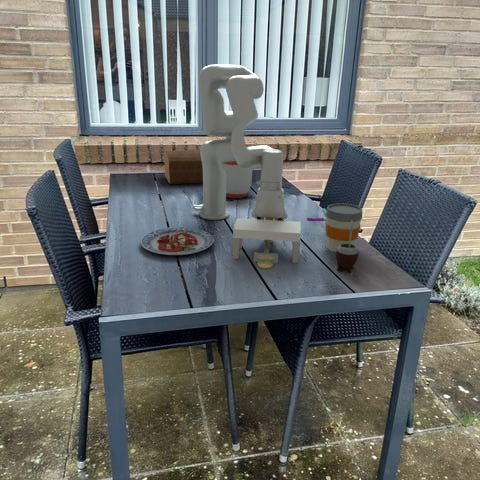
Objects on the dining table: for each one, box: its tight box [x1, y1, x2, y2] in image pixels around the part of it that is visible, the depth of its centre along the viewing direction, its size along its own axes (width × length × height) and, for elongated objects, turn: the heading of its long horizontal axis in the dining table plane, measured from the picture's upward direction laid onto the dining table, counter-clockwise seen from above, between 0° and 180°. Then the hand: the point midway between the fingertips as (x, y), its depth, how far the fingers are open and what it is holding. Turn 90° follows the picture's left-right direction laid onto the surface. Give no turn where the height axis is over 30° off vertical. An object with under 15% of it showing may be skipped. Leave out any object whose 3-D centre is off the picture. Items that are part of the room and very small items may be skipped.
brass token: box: [256, 260, 274, 270], centre depth 153 cm, size 5×5×1 cm
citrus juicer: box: [221, 161, 255, 199], centre depth 224 cm, size 16×17×20 cm
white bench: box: [232, 217, 302, 264], centre depth 160 cm, size 22×11×10 cm, turn 84°
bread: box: [163, 148, 203, 185], centre depth 251 cm, size 18×30×16 cm, turn 107°
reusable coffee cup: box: [325, 202, 363, 253], centre depth 165 cm, size 13×13×15 cm
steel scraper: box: [253, 217, 279, 264], centre depth 163 cm, size 8×21×12 cm, turn 174°
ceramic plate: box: [140, 226, 214, 256], centre depth 167 cm, size 26×26×3 cm
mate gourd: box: [335, 220, 359, 274], centre depth 149 cm, size 8×8×15 cm
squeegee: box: [306, 208, 327, 222], centre depth 195 cm, size 29×2×10 cm
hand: (268, 233), depth 172 cm, fingers closed on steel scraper, 3 cm apart
